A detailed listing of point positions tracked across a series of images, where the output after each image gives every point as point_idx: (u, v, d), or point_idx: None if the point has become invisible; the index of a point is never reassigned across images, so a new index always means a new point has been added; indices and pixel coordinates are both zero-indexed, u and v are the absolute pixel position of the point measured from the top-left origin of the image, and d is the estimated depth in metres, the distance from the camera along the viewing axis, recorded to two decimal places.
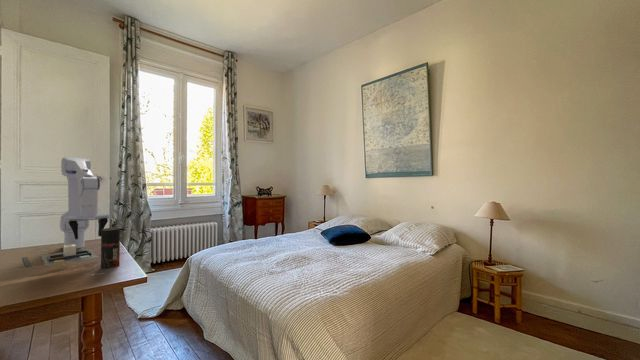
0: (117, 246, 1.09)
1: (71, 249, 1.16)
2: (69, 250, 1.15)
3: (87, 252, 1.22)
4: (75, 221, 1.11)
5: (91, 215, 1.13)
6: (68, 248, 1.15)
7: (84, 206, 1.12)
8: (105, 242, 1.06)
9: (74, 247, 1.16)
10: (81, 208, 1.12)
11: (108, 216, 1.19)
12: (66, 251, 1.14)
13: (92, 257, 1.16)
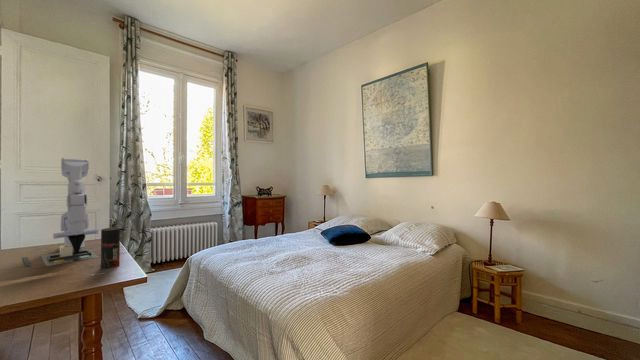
0: (117, 246, 1.09)
1: (67, 250, 1.15)
2: (65, 251, 1.14)
3: (87, 252, 1.22)
4: None
5: (79, 231, 1.17)
6: (64, 249, 1.14)
7: (72, 222, 1.15)
8: (105, 242, 1.06)
9: (70, 248, 1.15)
10: (69, 224, 1.16)
11: (96, 231, 1.23)
12: (62, 252, 1.14)
13: (92, 257, 1.16)
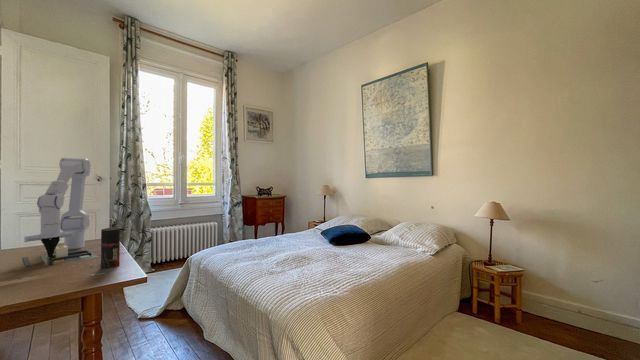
0: (117, 246, 1.09)
1: (63, 250, 1.14)
2: (61, 251, 1.13)
3: (87, 252, 1.22)
4: (35, 240, 1.08)
5: (52, 234, 1.11)
6: (60, 249, 1.13)
7: (45, 225, 1.09)
8: (105, 242, 1.06)
9: (66, 248, 1.14)
10: (42, 227, 1.09)
11: (72, 234, 1.16)
12: (57, 252, 1.12)
13: (92, 257, 1.16)
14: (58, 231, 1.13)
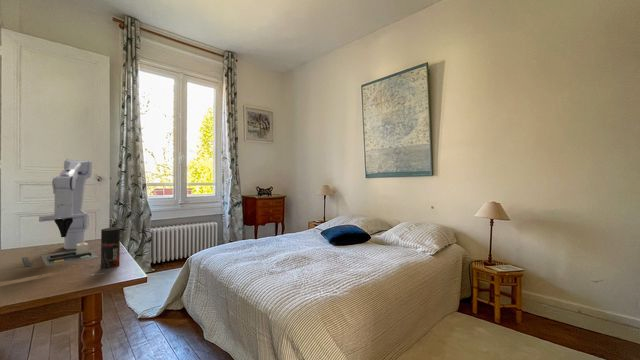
0: (117, 246, 1.09)
1: (83, 247, 1.19)
2: (82, 248, 1.18)
3: None
4: (49, 220, 1.11)
5: (66, 214, 1.13)
6: (81, 246, 1.18)
7: (58, 205, 1.12)
8: (105, 242, 1.06)
9: (86, 245, 1.19)
10: (56, 207, 1.12)
11: (84, 215, 1.19)
12: (79, 249, 1.18)
13: (92, 257, 1.16)
14: (71, 212, 1.15)
